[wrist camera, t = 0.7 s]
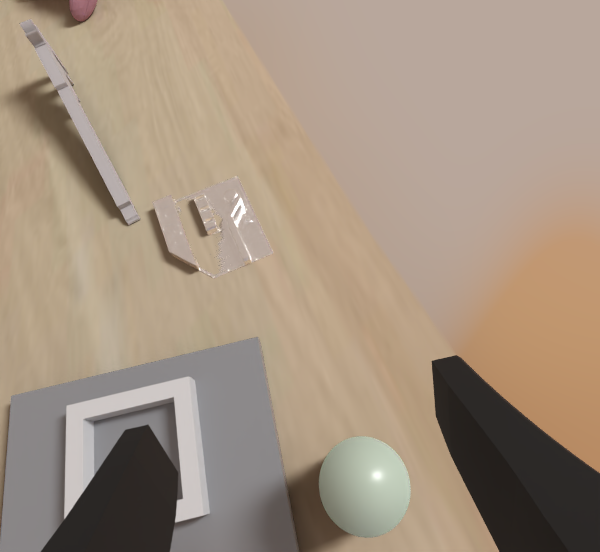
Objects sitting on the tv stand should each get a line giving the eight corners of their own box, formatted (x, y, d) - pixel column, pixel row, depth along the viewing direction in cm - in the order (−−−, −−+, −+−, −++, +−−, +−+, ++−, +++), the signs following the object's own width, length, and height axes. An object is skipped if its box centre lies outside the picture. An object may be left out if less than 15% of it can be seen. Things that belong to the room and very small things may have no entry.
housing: (311, 618, 22) (309, 633, 20) (2, 697, 21) (-33, 720, 19) (260, 341, 28) (254, 331, 26) (21, 398, 28) (-3, 392, 26)
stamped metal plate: (159, 211, 34) (151, 200, 33) (239, 180, 35) (235, 168, 33) (186, 293, 31) (179, 285, 29) (275, 257, 31) (272, 247, 30)
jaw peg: (403, 513, 23) (423, 524, 18) (332, 531, 23) (331, 547, 18) (381, 437, 25) (393, 427, 20) (315, 453, 25) (309, 447, 20)
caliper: (58, 77, 42) (14, 15, 36) (69, 73, 42) (26, 9, 36) (130, 227, 33) (87, 177, 28) (143, 221, 33) (103, 169, 28)
